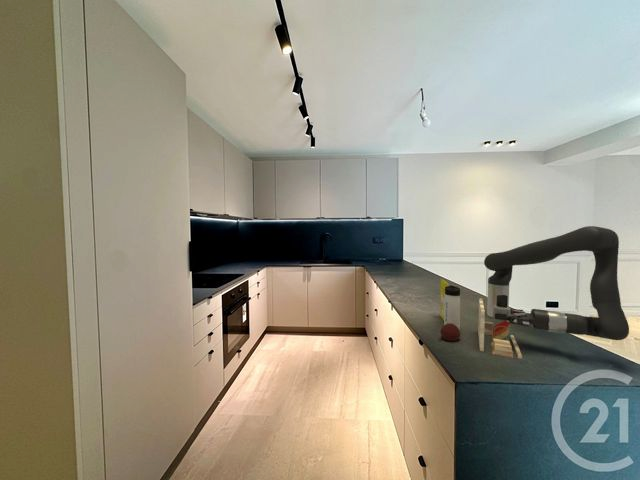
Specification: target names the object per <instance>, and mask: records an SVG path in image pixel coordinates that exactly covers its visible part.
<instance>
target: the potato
mask: <svg viewBox="0 0 640 480" xmlns="http://www.w3.org/2000/svg"><path fill="white" fill-rule="evenodd" d="M440 336H441V337H442V339H444V340H445V341H448V342H457V341H458V340H459V339H460V338H461V331H460V328H459V329H458V327H457V326H456V325H454V324H452V323H448V324H445V325H444V324H443V326H441V328H440Z"/></svg>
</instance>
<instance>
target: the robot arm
mask: <svg viewBox="0 0 640 480" xmlns="http://www.w3.org/2000/svg"><path fill="white" fill-rule="evenodd" d="M619 242H620V241H619V235H618V234H617V233H616V232H615V231H614V230H612V229H611V228H607V227H601V226H596V225H588V226H587V225H586V226H583V227H581V228H578V229H575V230H572V231H570V232H567V233H564V234H560V235H557V236H554V237H550V238H546V239H542V240H538V241H534V242H531V243H527V244H525V245H521V246H518V247H515V248H511V249H510V250H506V251H505V250H504V251H501V252H492V253H489V254H488V255H486V256H485V258H484V260H483V263H484V264H483V265H484V266H485V268H486V269H488V270H489V271H493V272H494V273H493V274H492V275H491V276H489V277H488V279H487V303H486V304H487V307H486V309H487V310H486V315H487V316H488V317H490V318H492V319H493V306H494V305H496V296H497V295H507V296H508V307H509V306H510V282H511V280H512V278H513V277H512V275H513V268H514V267H513V266H526V265H527V266H528V265H534V264H535V265H537V264H541V263H547V262H550V261H552V260H554V259H556V258H559V256H561V255H564V254H567V253H575V252H591V253H592V252H593V253H592V254H593V258H594V263H595V264H594V271H593V274H592V277H591V279H590V284H589V292H590V298H591V305H592V307H593V308H594V309H595V310H596V312H597V316H586V315H581V314H575V313H569V312H560V311H556V310H555V311H554V310H548V309H540V308H538V309H537V308H532V309H531V310H530V313H529V312H526V311H524V309H517V308H510V309H511V312H510V315H507V316H506V314H499V313H495V319H498V320H507V322H509V323H510V325H518V326H523V327H530V326H531V328H532V329H533V330H540V331H546V332H550V333H551V332H553V333H563V334H572V335H579V336H580V335H582V336H583V335H585V336H589V337H595V338H600V339H601V338H602V339H608V340H612V341H622V340H626V338H627V337H628V336H629V334H630V325H629V323H628V319H627V317H626V315H625V312H624V310H623V308H622V302H621V296H620V295H621V294H620V289H619V283H618V282H619V281H618V265H619V263H618V261H619V248H620V247H619V245H620V243H619Z"/></svg>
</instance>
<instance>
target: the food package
mask: <svg viewBox="0 0 640 480" xmlns="http://www.w3.org/2000/svg"><path fill="white" fill-rule="evenodd" d="M447 286H450V284H449V283H448V282H447V281H446V280H444V279H442V278H440V302H439V303H440V309H439V315H440V317H441V319H442V321H444V305H445V287H447Z"/></svg>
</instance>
